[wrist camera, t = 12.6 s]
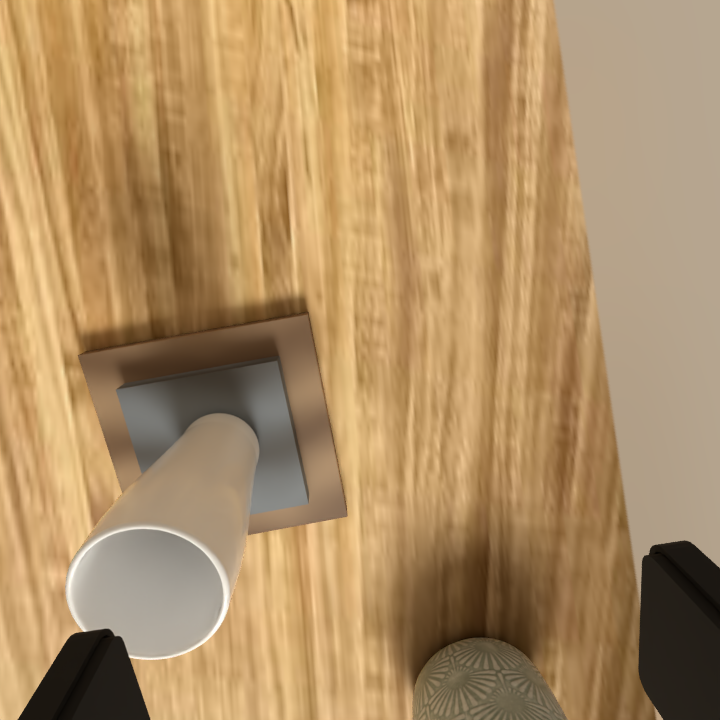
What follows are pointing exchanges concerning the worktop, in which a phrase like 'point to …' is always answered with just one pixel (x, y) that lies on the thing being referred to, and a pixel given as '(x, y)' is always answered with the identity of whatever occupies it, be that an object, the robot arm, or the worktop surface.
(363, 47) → the worktop surface
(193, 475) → the drinking glass
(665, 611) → the robot arm
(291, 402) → the base
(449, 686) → the planter
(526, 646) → the worktop surface
